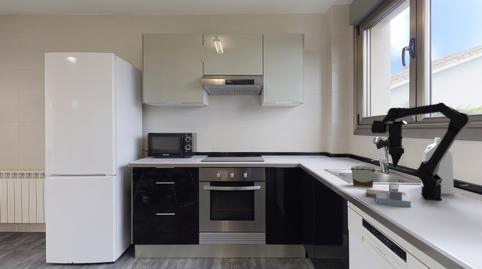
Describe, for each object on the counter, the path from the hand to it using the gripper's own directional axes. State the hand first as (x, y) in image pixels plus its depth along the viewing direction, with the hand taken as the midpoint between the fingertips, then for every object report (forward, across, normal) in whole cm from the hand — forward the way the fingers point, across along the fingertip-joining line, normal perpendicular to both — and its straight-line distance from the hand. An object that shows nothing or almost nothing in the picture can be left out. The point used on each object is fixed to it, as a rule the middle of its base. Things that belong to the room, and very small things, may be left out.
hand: (394, 167), depth 135 cm
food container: (+12, -11, -14) cm, 22 cm away
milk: (+12, -13, +19) cm, 26 cm away
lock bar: (+9, +17, -1) cm, 19 cm away
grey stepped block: (+12, +21, -2) cm, 24 cm away
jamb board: (+12, +10, -4) cm, 16 cm away
